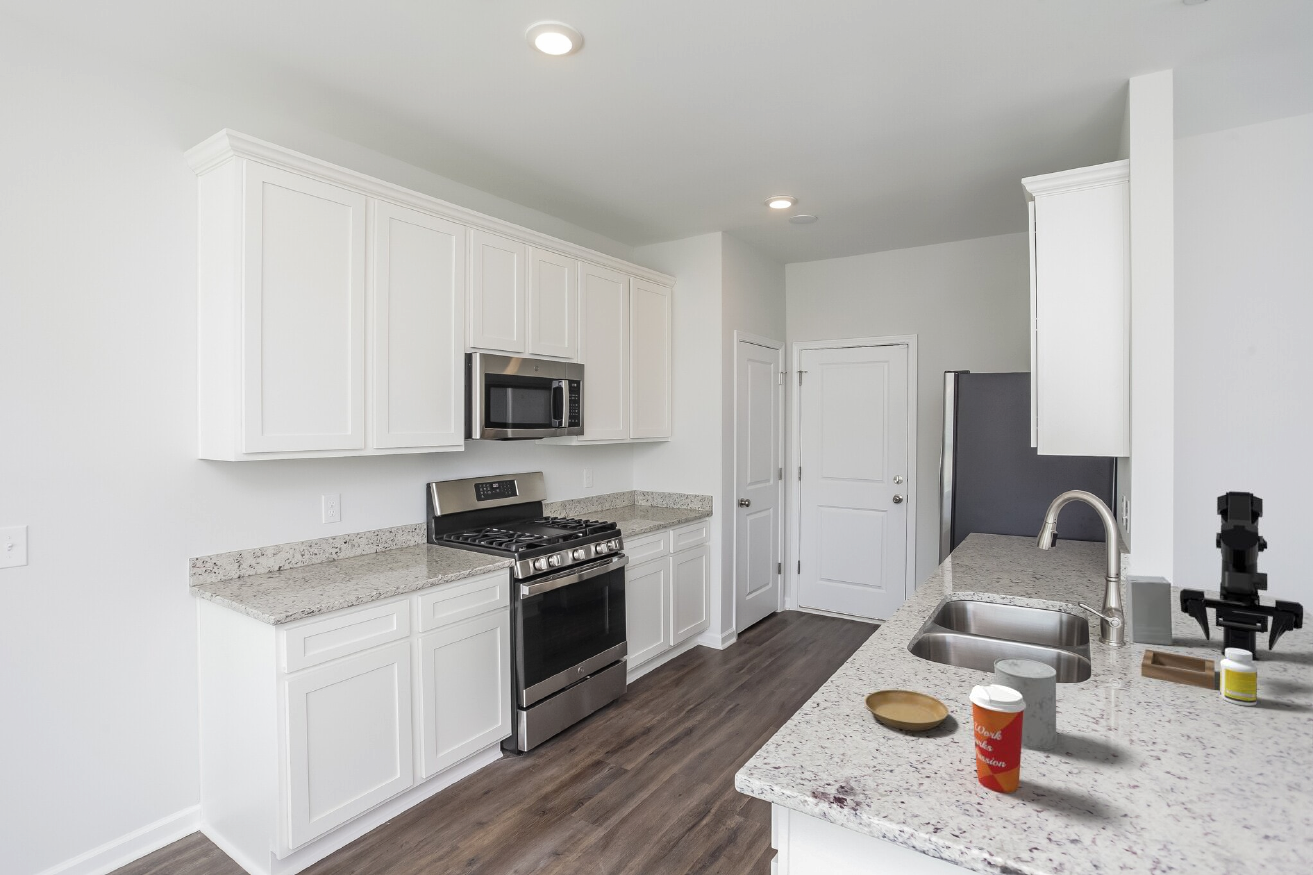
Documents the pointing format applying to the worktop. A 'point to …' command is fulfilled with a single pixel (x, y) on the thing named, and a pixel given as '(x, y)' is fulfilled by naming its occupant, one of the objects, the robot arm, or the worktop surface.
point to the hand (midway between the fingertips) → (1238, 644)
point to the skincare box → (1149, 609)
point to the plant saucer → (906, 709)
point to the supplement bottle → (1238, 677)
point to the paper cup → (998, 736)
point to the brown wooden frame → (1178, 674)
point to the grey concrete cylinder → (1032, 698)
